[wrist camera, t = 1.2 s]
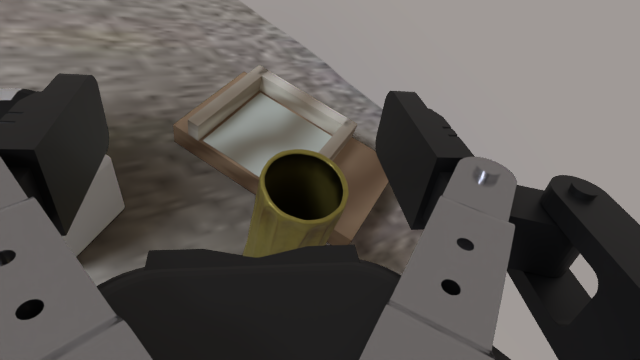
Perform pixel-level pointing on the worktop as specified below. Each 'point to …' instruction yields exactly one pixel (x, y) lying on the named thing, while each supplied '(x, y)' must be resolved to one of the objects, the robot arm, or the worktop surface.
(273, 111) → the dock
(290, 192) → the vase
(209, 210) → the worktop surface
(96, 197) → the medicine bottle
